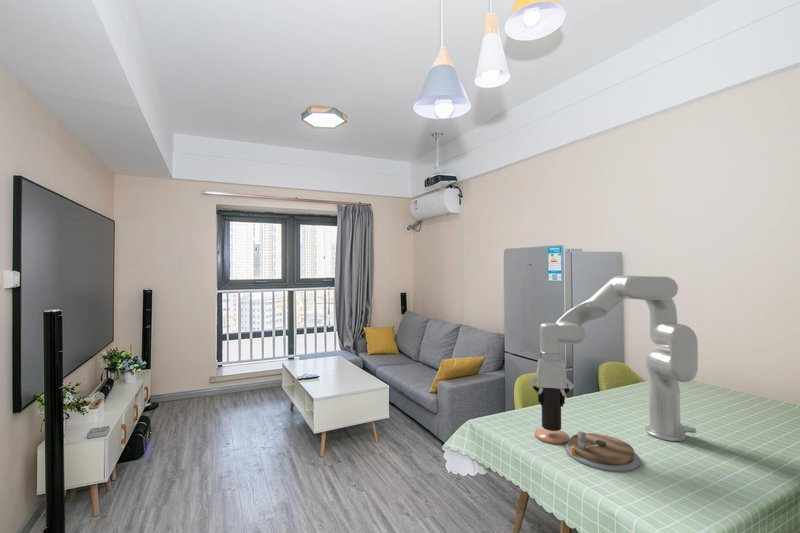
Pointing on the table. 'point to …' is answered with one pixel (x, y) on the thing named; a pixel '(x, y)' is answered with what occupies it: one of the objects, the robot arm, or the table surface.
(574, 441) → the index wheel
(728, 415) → the table surface
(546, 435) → the peach dome
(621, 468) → the wheel base
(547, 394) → the vinegar
